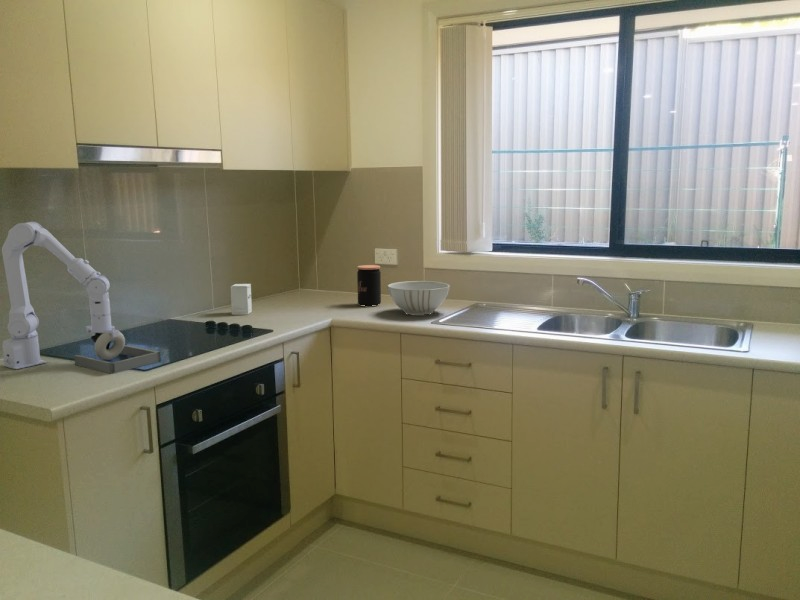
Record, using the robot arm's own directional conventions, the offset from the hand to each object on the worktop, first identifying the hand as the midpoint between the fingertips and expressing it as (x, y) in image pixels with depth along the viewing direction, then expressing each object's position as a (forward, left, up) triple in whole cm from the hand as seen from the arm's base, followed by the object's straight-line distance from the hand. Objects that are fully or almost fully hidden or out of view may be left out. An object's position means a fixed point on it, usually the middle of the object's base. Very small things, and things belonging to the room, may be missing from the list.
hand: (104, 356), depth 212 cm
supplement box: (+80, +23, -1) cm, 83 cm away
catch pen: (0, -7, -1) cm, 7 cm away
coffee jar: (+126, -12, -1) cm, 127 cm away
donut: (0, -2, -1) cm, 2 cm away
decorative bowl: (+121, -42, -1) cm, 128 cm away
